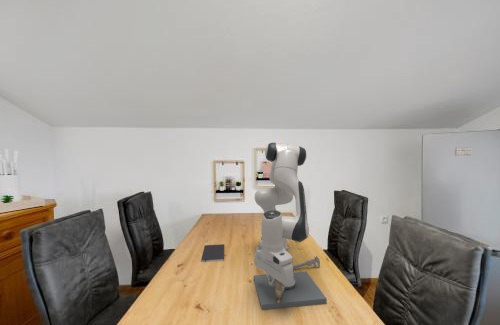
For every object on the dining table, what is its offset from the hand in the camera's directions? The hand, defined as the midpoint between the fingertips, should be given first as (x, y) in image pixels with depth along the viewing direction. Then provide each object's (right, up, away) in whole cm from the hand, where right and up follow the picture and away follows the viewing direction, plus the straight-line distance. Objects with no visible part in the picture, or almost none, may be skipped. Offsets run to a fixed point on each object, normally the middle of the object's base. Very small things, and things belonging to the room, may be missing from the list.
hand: (272, 285), depth 89 cm
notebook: (-31, -6, +44) cm, 54 cm away
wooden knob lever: (+5, -3, +3) cm, 7 cm away
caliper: (+17, -5, +24) cm, 30 cm away
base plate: (+7, -5, +5) cm, 10 cm away
